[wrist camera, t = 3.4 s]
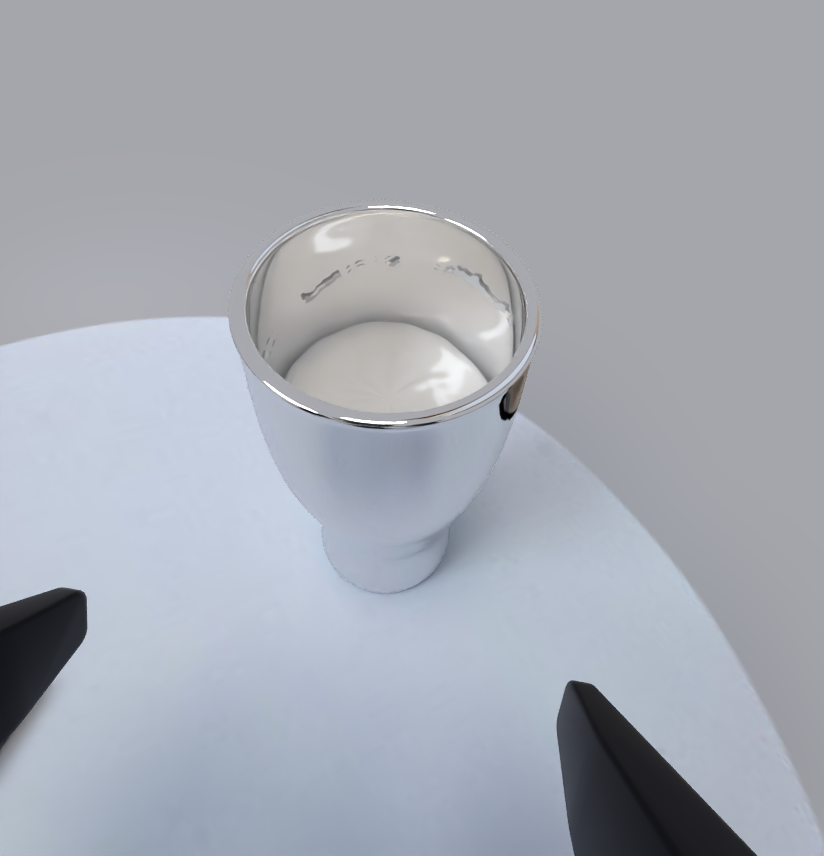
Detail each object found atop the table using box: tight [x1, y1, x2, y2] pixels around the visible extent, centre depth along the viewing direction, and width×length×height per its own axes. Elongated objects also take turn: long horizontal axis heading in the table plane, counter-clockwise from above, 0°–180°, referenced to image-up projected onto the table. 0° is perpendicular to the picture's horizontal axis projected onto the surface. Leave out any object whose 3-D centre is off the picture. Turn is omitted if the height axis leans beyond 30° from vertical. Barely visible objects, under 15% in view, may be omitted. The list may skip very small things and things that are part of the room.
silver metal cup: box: [228, 200, 543, 593], centre depth 16 cm, size 7×7×15 cm
